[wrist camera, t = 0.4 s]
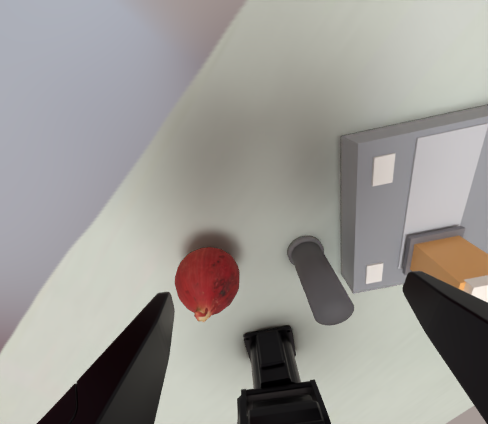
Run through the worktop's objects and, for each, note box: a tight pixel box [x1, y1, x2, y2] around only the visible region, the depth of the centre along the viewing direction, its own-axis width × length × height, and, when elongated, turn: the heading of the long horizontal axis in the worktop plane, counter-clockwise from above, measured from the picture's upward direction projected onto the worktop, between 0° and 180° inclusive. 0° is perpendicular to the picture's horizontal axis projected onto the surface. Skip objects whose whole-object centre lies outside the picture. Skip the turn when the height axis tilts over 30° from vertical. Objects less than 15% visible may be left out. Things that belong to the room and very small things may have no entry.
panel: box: [341, 105, 488, 294], centre depth 23 cm, size 16×14×3 cm
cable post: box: [287, 236, 354, 325], centre depth 22 cm, size 4×4×8 cm
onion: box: [175, 247, 239, 322], centre depth 22 cm, size 6×6×8 cm
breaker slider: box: [402, 226, 488, 302], centre depth 20 cm, size 4×5×6 cm
